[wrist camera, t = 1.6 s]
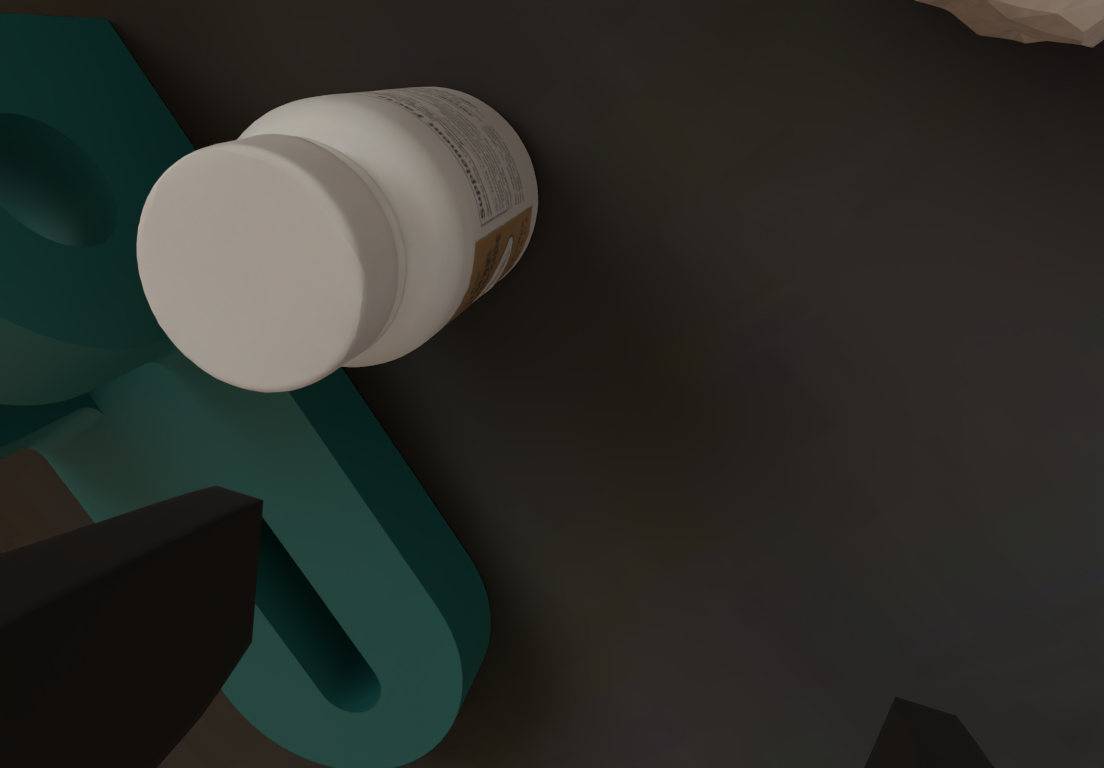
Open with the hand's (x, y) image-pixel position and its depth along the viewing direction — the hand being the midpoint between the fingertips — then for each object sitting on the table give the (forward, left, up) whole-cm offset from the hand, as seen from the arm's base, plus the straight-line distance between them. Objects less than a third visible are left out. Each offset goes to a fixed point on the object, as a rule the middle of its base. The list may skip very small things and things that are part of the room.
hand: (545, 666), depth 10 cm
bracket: (+9, +5, -10) cm, 15 cm away
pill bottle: (+6, -2, -10) cm, 12 cm away
